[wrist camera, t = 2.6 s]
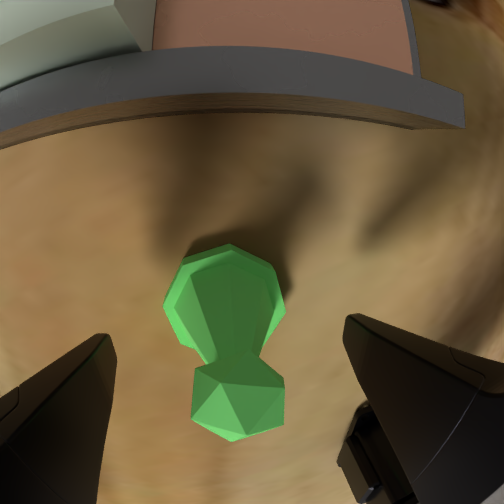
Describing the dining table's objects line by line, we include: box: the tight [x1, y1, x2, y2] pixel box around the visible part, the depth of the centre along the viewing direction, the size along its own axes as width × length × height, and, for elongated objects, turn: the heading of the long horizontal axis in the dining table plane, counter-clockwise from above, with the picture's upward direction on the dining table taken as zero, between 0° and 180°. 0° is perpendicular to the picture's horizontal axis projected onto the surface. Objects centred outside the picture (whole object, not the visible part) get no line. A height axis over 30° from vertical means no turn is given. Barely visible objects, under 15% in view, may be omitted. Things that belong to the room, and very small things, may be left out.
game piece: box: [163, 243, 286, 442], centre depth 8 cm, size 4×4×6 cm
